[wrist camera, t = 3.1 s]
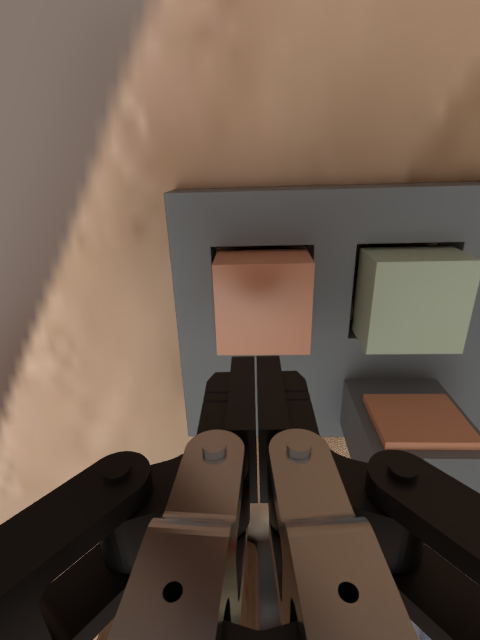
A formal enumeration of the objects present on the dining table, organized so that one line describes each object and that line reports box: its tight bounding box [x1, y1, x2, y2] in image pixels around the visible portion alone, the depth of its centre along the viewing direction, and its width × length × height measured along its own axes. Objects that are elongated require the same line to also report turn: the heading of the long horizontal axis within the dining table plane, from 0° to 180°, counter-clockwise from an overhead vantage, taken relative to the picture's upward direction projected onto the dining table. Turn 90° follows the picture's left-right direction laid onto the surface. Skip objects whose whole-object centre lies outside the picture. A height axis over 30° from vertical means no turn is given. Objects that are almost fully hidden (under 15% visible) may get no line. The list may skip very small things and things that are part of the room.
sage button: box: [352, 246, 480, 354], centre depth 18 cm, size 4×4×3 cm
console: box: [164, 181, 480, 493], centre depth 18 cm, size 23×14×8 cm, turn 92°
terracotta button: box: [212, 249, 315, 355], centre depth 18 cm, size 4×4×3 cm
